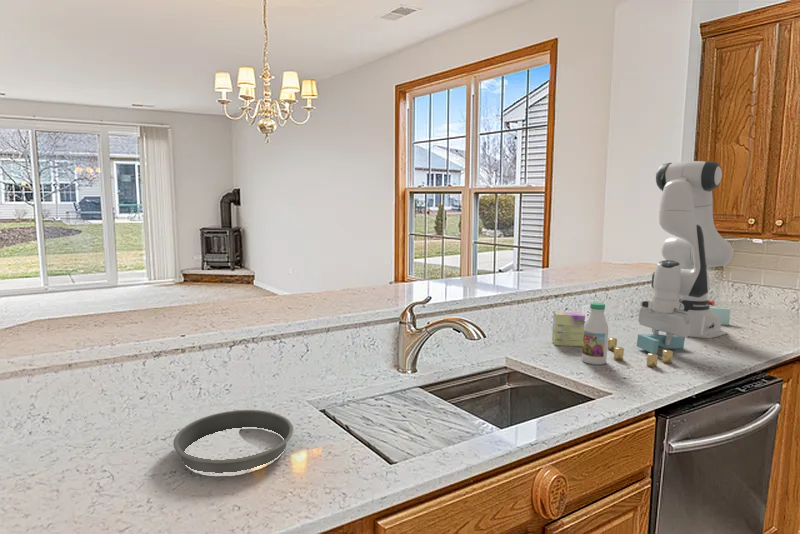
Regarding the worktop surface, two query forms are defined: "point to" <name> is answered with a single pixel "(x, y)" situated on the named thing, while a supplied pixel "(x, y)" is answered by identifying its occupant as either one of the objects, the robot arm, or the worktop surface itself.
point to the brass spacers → (650, 357)
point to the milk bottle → (595, 336)
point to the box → (568, 328)
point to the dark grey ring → (228, 422)
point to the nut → (660, 350)
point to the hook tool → (658, 342)
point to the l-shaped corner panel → (722, 314)
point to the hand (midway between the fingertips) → (661, 342)
